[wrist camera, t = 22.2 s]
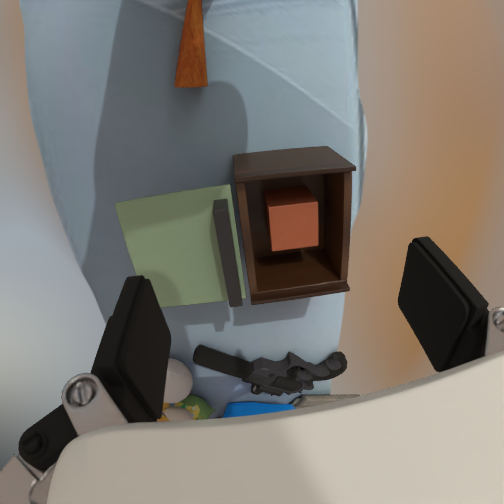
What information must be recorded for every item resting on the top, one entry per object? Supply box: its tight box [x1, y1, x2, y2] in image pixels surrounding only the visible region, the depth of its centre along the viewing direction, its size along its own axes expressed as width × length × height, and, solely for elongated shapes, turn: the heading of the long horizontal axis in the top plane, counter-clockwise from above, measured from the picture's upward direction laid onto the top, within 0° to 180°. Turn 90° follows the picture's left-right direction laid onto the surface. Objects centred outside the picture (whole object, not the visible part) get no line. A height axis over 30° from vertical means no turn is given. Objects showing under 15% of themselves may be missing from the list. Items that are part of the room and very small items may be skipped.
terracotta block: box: [263, 186, 318, 251], centre depth 34 cm, size 5×5×5 cm
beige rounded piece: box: [163, 358, 193, 421], centre depth 46 cm, size 8×10×12 cm
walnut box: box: [233, 146, 356, 305], centre depth 33 cm, size 14×11×9 cm
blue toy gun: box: [223, 402, 295, 418], centre depth 57 cm, size 29×20×6 cm
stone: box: [291, 395, 360, 409], centre depth 58 cm, size 18×3×15 cm
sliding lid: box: [115, 184, 246, 307], centre depth 29 cm, size 12×11×3 cm
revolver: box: [193, 345, 347, 396], centre depth 49 cm, size 3×25×15 cm
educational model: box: [157, 395, 215, 422], centre depth 52 cm, size 14×8×15 cm
